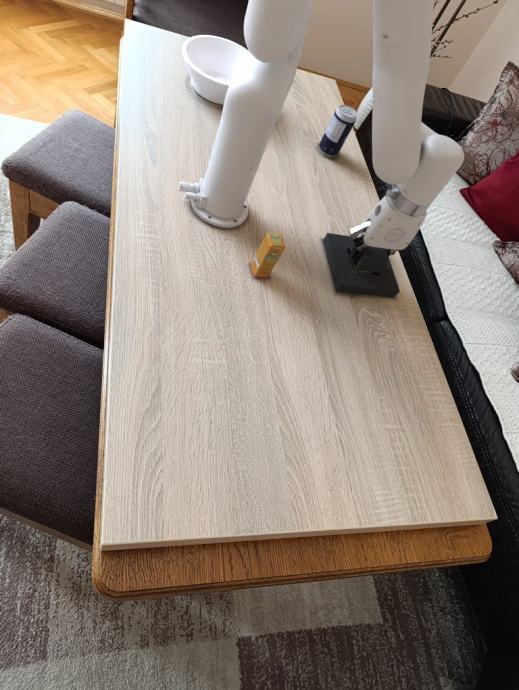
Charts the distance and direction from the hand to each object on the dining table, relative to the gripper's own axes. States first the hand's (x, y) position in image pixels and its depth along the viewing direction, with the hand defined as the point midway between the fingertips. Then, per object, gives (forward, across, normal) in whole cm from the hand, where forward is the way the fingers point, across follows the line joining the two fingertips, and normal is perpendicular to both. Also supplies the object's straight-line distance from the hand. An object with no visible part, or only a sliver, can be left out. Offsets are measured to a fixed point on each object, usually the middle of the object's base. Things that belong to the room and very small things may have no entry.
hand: (365, 259), depth 110 cm
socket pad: (+3, 0, 0) cm, 3 cm away
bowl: (+3, -28, +56) cm, 63 cm away
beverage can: (+3, +1, +40) cm, 40 cm away
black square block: (+1, 0, 0) cm, 1 cm away
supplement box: (+3, -24, -4) cm, 25 cm away
